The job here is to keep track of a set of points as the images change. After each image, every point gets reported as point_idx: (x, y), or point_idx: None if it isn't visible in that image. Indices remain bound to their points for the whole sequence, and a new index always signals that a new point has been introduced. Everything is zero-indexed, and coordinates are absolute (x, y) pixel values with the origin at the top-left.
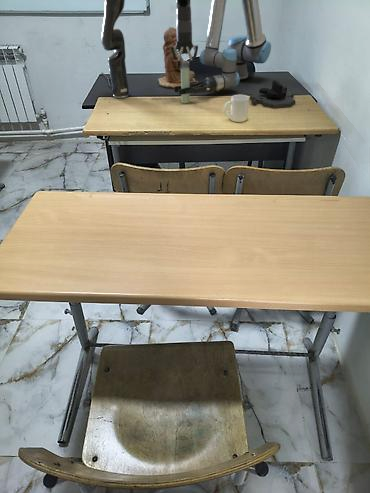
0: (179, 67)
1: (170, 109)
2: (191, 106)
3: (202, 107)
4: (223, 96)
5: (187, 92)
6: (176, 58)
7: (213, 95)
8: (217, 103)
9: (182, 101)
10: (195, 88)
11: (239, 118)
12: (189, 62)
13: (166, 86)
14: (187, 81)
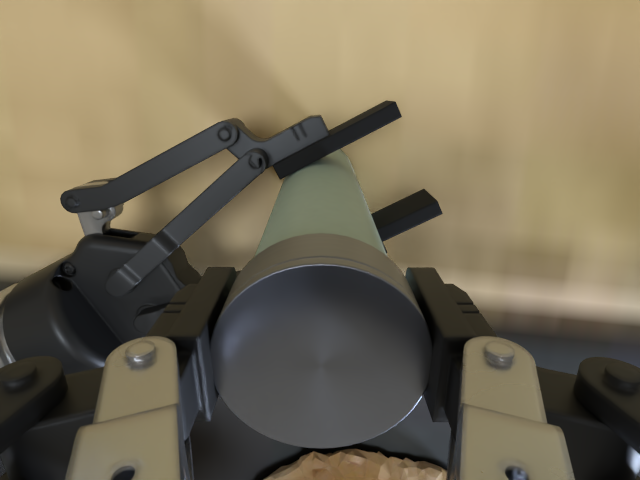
0: (427, 272)
1: (459, 4)
2: (276, 64)
3: (181, 26)
4: (37, 271)
5: (302, 120)
6: (563, 396)
7: None
8: (63, 117)
9: (348, 158)
10: (212, 141)
11: None
12: (216, 325)
13: (441, 469)
14: (294, 184)
